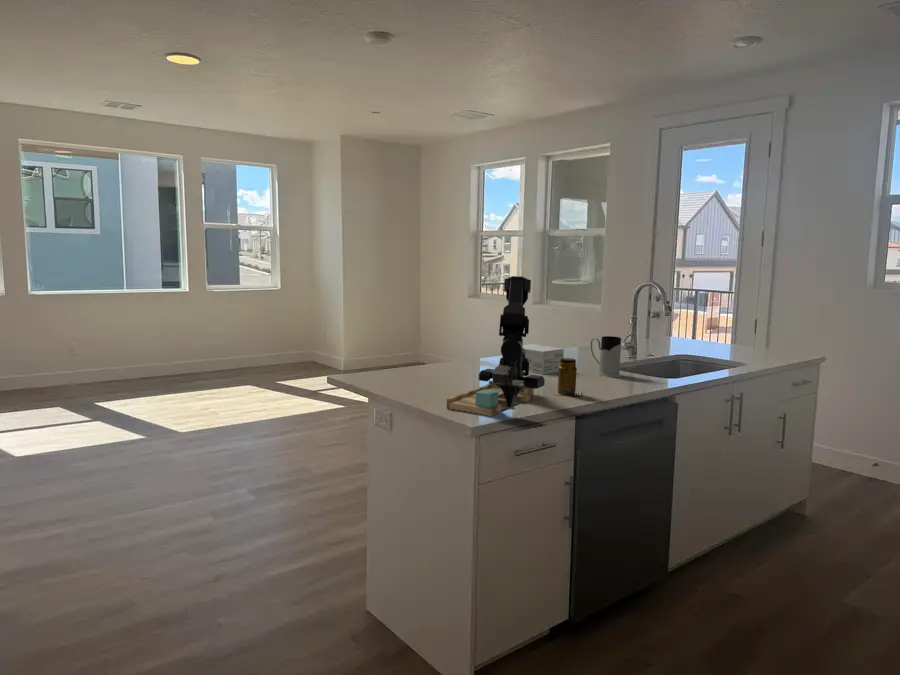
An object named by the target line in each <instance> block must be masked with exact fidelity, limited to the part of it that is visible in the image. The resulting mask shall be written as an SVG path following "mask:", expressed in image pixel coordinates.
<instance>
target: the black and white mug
mask: <svg viewBox="0 0 900 675" xmlns="http://www.w3.org/2000/svg"><path fill="white" fill-rule="evenodd" d="M594 340H596V341H597V343H598V349H599V351H600V352H599V353H600V354H599V360H598V359H597V357H596V356H595V354H594V351H593V342H594ZM600 340H601V341H600ZM590 351H591V355H592V357H593V359H594V360H595V361H596V363H597V364H598V365H599V367H598V373H597V376H600V377H604V376H607V377H606V378H618V377H617V376H620V377H621V374H620V368H621V351H622V338H621V337H620V336H613V335H612V336H609V335H607V336H605V335H604V336H601V339H599V338H597V337H596V338H595V337H594V338H592V339H591V340H590Z"/></svg>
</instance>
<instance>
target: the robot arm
mask: <svg viewBox="0 0 900 675" xmlns="http://www.w3.org/2000/svg"><path fill="white" fill-rule="evenodd" d="M531 283H532V280H531V279H528V278H527V277H524V276H518V275H516V276H515V275H511V276H508V278H504V284H503V292H504V293H505V294H506V296H505V299H506V301H507V305H506V306H503V311H502V314H500V318H499V319H500V320H499V330H498V336H499V337H500V336H501V337H502V344H501V346H500V354H501V355H502V356H501V357H500V358H499V363H498V365H496V367H495V368H494V369H492V368H486V369H482V370H480V371H479V374H478V381H481V382H489V381H491V380H492V381H493V382H494V383H497V384H496V385H497V386H499V387H500V388H501V389H502V391H503V393H504V396H505V399H506V402H507V406H508V407H509V408H508V409H511V408H513V407H514V406H513V404H514V402H515V399H516V397H517V395H518V393H519V392H520V390H521V388H522V387H524V386H526V387H527V388H534V390H535V389H536V390H537V389H539V388H542V387H545V384H546V383H545V382H546V381H545V378H544V376H543V375H537V374H530V372H529V362H528V360H527V358H525V355H526V352H525V350H524V348H523V345H524V343H523V342H524V339H523V338H526V337H527V335H529V334H530V333H529V331H530V327H529V326H530V319H529V317H528V315H526V308H525V307H524V305H525V303H526V302H527V301H528V299H529V294H531V288H532V286H531V285H532V284H531ZM529 374H530V375H529ZM512 406H513V407H512Z"/></svg>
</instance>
